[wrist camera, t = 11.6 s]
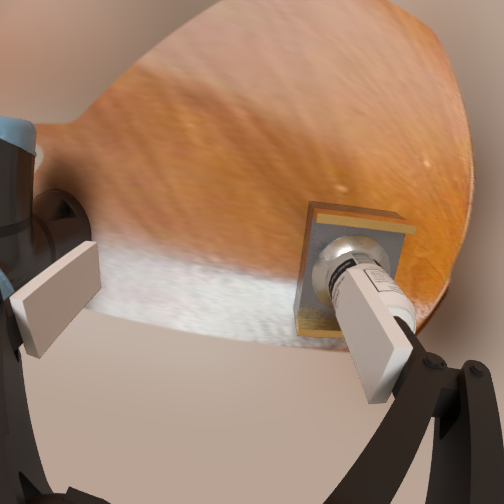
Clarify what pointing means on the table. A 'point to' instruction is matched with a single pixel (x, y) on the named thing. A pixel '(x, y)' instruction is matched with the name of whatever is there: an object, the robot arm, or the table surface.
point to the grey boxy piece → (333, 245)
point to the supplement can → (376, 277)
